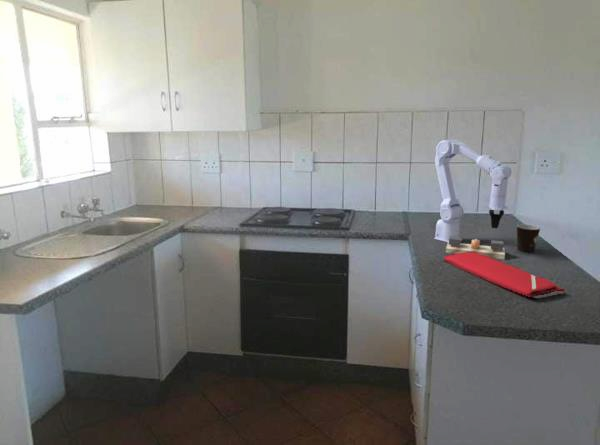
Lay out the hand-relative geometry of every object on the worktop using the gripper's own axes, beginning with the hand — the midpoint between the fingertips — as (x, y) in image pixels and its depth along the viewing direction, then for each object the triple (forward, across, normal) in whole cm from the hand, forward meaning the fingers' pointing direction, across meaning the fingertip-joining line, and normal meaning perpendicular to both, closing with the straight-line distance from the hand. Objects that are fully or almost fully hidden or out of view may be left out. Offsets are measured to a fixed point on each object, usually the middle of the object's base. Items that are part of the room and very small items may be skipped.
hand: (494, 227), depth 191 cm
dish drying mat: (+10, -32, -2) cm, 34 cm away
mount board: (+10, -6, +6) cm, 13 cm away
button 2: (+7, -6, -1) cm, 9 cm away
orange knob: (+8, -6, +6) cm, 12 cm away
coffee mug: (+10, +6, -14) cm, 18 cm away
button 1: (+7, -6, +15) cm, 17 cm away
